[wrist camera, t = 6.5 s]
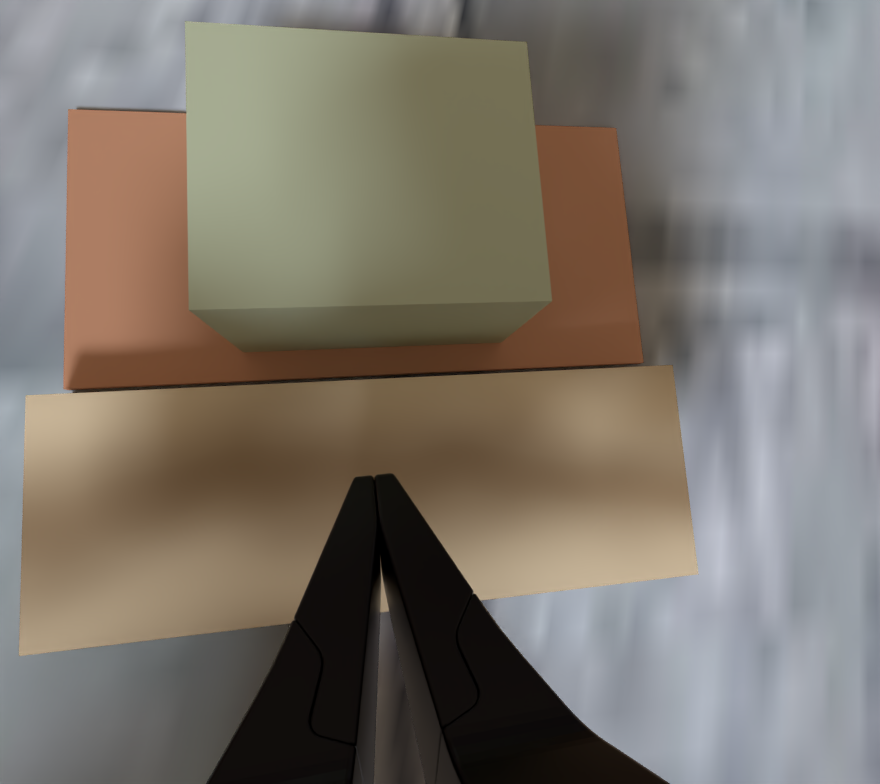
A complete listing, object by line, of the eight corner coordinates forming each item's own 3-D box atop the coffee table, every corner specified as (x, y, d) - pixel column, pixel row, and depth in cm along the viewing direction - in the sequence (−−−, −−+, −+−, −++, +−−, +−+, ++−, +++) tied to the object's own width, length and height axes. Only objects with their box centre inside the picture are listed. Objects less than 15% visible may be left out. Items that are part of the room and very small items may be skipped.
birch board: (661, 560, 18) (698, 574, 16) (65, 628, 15) (18, 656, 13) (640, 374, 19) (672, 364, 17) (68, 402, 16) (25, 395, 14)
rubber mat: (639, 363, 19) (643, 362, 18) (68, 390, 16) (63, 388, 15) (612, 132, 20) (616, 127, 19) (73, 115, 17) (68, 109, 16)
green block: (552, 301, 13) (526, 41, 14) (188, 310, 11) (184, 21, 12) (501, 342, 18) (484, 150, 18) (243, 352, 16) (237, 144, 17)
